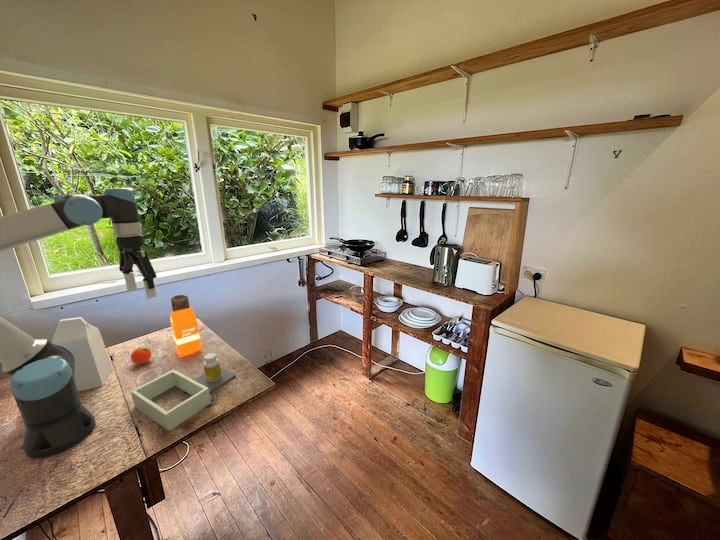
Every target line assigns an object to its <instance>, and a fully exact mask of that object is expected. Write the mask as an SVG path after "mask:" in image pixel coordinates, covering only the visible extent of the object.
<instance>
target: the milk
mask: <svg viewBox="0 0 720 540" xmlns="http://www.w3.org/2000/svg"><path fill="white" fill-rule="evenodd" d="M100 331H101V330H100V329H99V328H98V327H97V326H95V325H92V324H90V323H88V322H87V321H86V320H85V319H84V318H83V317H82V316H78V317H72V318H63V319H60V320H59V321H58V323H57V325H56V329H55V331H54V334H53V336H52V340H51V341H50V342H51V343H53V344H59V345H62V346H65V347H66V348H68V349H69V350H70V351H71V352H72V354H73V356H74V359H75V374H74V375H75V384H76V387H77V391H78V392H81V391H86V390H90V389H95V388H99V387H103V386H104V385H105V383H106V382H107V380H108V378H109V376H110V375H111V373H112V371H113V370H114V368H113V366H112V362H111V360H110V357H109V354H108V350H107V348H106V346H105V343H104V340H103V338H102V334H101V332H100Z"/></svg>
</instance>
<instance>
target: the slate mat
mask: <svg viewBox="0 0 720 540" xmlns="http://www.w3.org/2000/svg"><path fill="white" fill-rule="evenodd" d="M220 370H221V377H220V379H218V380H217V381H214V382H208V381H206V377H205V373H204V374H202V375H200V376H198V377H197V378H195V379H193V380H194V381H196V382H198V383H200V384H202V385H204V386H205V387H207V388H209V393H213V392H214V391H215V390H218V388H220V387H222V386H223V385H225V384H226V383H228V382H229V381H231V380H233V379H234V378H235V377H234V376H236V374H235V373H232V372H230V371H228V370H226V369H224V368H221V367H220ZM233 377H234V378H233ZM232 378H233V379H232ZM230 379H231V380H230Z"/></svg>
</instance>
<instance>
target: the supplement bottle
mask: <svg viewBox="0 0 720 540" xmlns="http://www.w3.org/2000/svg"><path fill="white" fill-rule="evenodd" d="M202 364H203V369H204V374H205V377H206V381H208V382H214V381H217V380H218V379H220V377H221V370H220V368H221V365H220V360H219V358H217V354H216V353H215V352H211V353H210V352H209V353H207V354H205V355H204V361H203V363H202Z"/></svg>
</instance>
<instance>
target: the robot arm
mask: <svg viewBox="0 0 720 540" xmlns="http://www.w3.org/2000/svg"><path fill="white" fill-rule="evenodd" d="M137 203H138V202H137V200H136V197H135V193H134V190H133V189H132V188H129V187H106V188H105V189H104V193H102V194H60V195H55V196H54V197H53V202H52V203H51V202H50V203H47V204H43V205H39V206H36V207H33V208H29V209H25V210H22V211H18V212H15V213H14V212H13V213H9V214H7V215H3V216H0V253H1V252H5V251H8V250H11V249H14V248H17V247H20V246H23V245H26V244H30V243H33V242H35V241H38V240H42V239H45V238H49V237H51V236H54V235H57V234H60V233H64V232H67V231H70V230H74V229H76V228H77V229H78V228H79V227H83V226H91V225H94V224H96V223H98V222H99V221H100V220H101V219H110V221H111V226H112V230H113V234H114V235H115V236H116V237H115V242H116V247H117V248H118V253H119V264H118V265H119V267H118V269H119V272H122V274H123V277H124V281H125V285H126V290H127V292H133V291H137V290H138V288H137V284H136V283H137V282H136V278H135V274H134V272H135V271H134V270H133V267H134V265H136V267H137V269H138V271H139V272H140V275H141V276H142V277H143V279H142V282H143V285H144V290H145V294H146V299H153V298H155V297H158V296H157V295H158V294H157V292H156V287H155V280H154V279H156V278H157V277H158V276H157V275H156V272H155V270H154V267H153V265H152V262H151V260H150V258H149V254H148V251H147V250H146V249H144V250H142V249H141V247H143V246H144V245H145V240H144V239H145V238H144V235H143V234H142V233H143V230H142V225H143V223H141V220H140V214H139V210H138V205H137ZM51 342H52V341H49V340H48V339H47V338H39V339H38V338H37V339H35V338H34V337H32V336H31V335H29V334H28V333H27V332H25V331H24V330H22V329H20V328H19V327H17V326H15V325H14V324H12V323H11V322H9V321H8V320H6V319H5V318H3V317H2V316H0V363H1V364H2V368H1V369H2V372H3V373H5V374H7V375H9V376H11V377H10V380H9V387H10V388H9V390H10V392H11V394H12V396H13V398H14V400H15V403H16V405H17V408H18V410H19V411H18V412H19V413H20V417H21V418H22V420H23V423H24V425H25V430H24V434H23V435H24V437H23V442H22V443H23V444H22V448H23V452H24V454H25V456H26V457H28V458H30V459H43V458H48V457H52V456H54V455H58V454H60V453H63V452H65V451H68V450H69V449H71V448H73V447H74V446H77V445H78V444H79V443H81V442H82V441H83V440H85V439H86V438H87V437H88V436H89V435H90V434H91V433H92V432H93V431H94V429H95V427H96V424H97V423H96V422H97V421H96V418H95V415H94V414H93V413H92V412H91V411H90V410H89V409H88V408H86V407H85V406H84V405H83V404H82V401H81V398H80V394H79V391H77V387H76V384H75V375H74V374H75V359H74V356H73V354H72V352H71V351H70V350H69V349H68V348H66V347H65V346H62V345H59V344H53V343H51Z"/></svg>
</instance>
